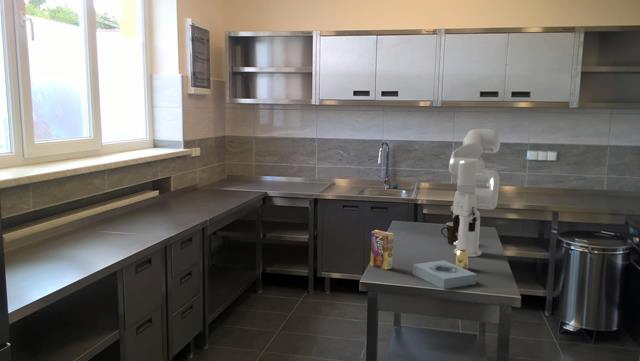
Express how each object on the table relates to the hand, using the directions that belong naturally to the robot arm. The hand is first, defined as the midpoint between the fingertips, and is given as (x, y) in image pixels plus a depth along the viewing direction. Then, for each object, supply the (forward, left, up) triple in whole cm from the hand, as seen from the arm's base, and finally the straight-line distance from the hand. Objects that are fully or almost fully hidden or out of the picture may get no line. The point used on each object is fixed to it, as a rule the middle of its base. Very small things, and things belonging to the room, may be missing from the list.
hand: (463, 229), depth 224 cm
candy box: (-15, -31, -18) cm, 39 cm away
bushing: (0, 0, -18) cm, 18 cm away
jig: (+8, -16, -17) cm, 25 cm away
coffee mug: (-36, +24, -18) cm, 47 cm away
